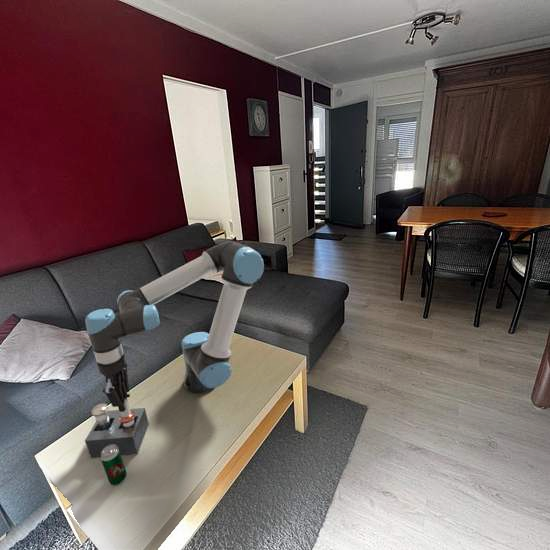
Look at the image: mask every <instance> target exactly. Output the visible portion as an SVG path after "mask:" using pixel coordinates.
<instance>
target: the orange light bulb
mask: <svg viewBox="0 0 550 550" xmlns="http://www.w3.org/2000/svg"><path fill="white" fill-rule="evenodd" d="M130 411H131V410H130ZM134 417H135V414H134V412H133V411H131V415H130V417H121V415H120V417H119V420H120V422H121V423H122V424H123V427H124V429H127V428H134V426H135V421H134Z"/></svg>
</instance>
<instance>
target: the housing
mask: <svg viewBox="0 0 550 550" xmlns="http://www.w3.org/2000/svg"><path fill="white" fill-rule="evenodd" d="M130 410H131V411H133V412H134V414H135V417H134V421H135V426H134V428H127V429H124V427H123V424H122V423H121V422H120V420H119V417H120V412H119V409H116V410H115V409H113V410H107V413H108V416H109V419H110V422H111V426H110V428H109V429H107V430H103V431H100V430H99V427H98V424H97V421H96V420H95V423H94V424H93V426H92V427H91V430H90V431H89V432H88V435H87V437H86V438H85V439H84V443H85V445H86V447H87V451H88V454H89V457H90V458H91V459H96V458H97V459H98V458H99V459H101V452H102V450H103V449H104V448H105V447H107V446H108V445H111V444H115V445H116V446H118V447H119V449H120V452H121V456H122V457H123V456H133V455H134V456H135V455H138V454H139V452H140V448H141V446H142V444H143V440H144V439H145V435H146V433H147V430H148V428H149V425H150V424H149V419H148V416H147V412H146V407H140V408H130Z"/></svg>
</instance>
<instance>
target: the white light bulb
mask: <svg viewBox="0 0 550 550" xmlns="http://www.w3.org/2000/svg"><path fill="white" fill-rule="evenodd" d="M107 411H109V407H108V404H107V403H98V404H96V405H95V406H94V407H92V409H91V412H90V413H91V415H92V416H93V417H94V418H95V422H96V421H97V424H98V427H99V430H100V431H103V430H107V429H109V428H110V426H111V422H110V419H109V416H108V413H107Z"/></svg>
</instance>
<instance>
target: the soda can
mask: <svg viewBox="0 0 550 550" xmlns="http://www.w3.org/2000/svg"><path fill="white" fill-rule="evenodd" d="M100 461H101V463H102V466H103V467H102V468H103V469H104V472H105V475H106V478H107V481H108V483H109V485H111V486H117V485H119V484H121V483H123V482H124V480H125V479H126V477H127V475H128V472H127V468H126V466H125V462H124V459H123V456H121V452H120V449H119V447H118V446H116V445H115V444H111V445H108V446H107V447H105V448H104V449H103V450H102V452H101V457H100Z"/></svg>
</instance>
